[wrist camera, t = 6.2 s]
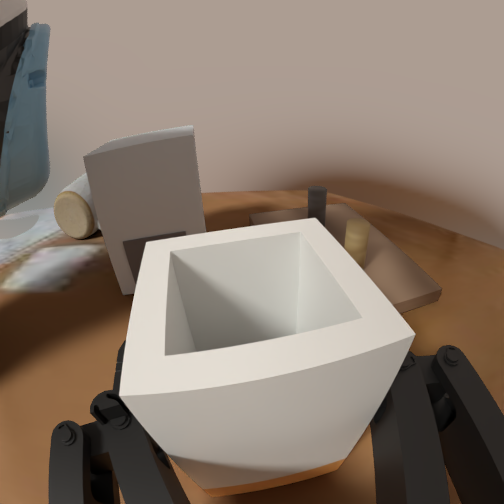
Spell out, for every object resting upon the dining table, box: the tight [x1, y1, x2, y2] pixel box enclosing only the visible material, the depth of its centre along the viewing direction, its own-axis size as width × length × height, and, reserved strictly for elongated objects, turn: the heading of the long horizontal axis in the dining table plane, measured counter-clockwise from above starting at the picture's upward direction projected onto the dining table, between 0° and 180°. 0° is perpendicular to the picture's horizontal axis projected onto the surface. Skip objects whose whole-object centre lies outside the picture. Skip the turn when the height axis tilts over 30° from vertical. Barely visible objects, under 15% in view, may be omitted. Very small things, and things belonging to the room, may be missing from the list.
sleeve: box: [119, 218, 416, 497], centre depth 10 cm, size 6×6×10 cm
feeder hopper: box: [83, 125, 207, 295], centre depth 24 cm, size 8×8×12 cm
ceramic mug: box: [54, 173, 101, 239], centre depth 34 cm, size 11×8×8 cm
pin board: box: [249, 186, 442, 314], centre depth 25 cm, size 12×18×5 cm, turn 11°
